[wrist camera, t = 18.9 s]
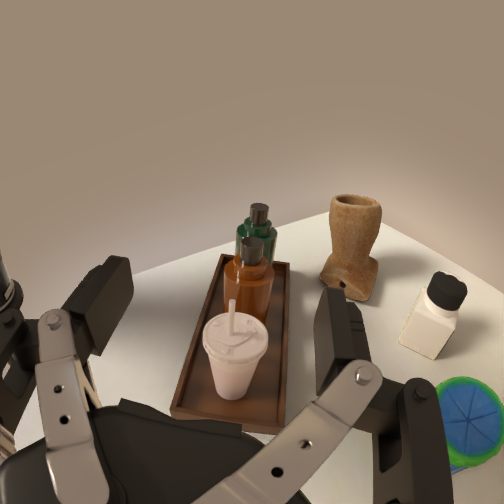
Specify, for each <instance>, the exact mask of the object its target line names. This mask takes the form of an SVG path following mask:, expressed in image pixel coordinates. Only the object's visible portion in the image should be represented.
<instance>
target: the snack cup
mask: <svg viewBox="0 0 504 504" xmlns="http://www.w3.org/2000/svg"><path fill="white" fill-rule="evenodd" d="M435 389H436V391H437V394H438V399H439V403H440V408H441V413H442V418H443V423H444V429H445V435H446V440H447V447H448V453H449V461H450V468H451V474H454V473H456V472H459V471H461V470H463V469H466V468H468V467H474V466H477V465H480V464H482V463H484V462H486V461H487V460H488V459H490V458H491V457H493V456H495V455H496V454H497V453H498V452H499V450H500V448H501V446H502V445H503V443H504V407H503V405H502V403H501V401H500V399H499V398H498V396H497V395H496V394H495V392H494V391H493V390H492V389H491V388H489V387H488V386H487V385H486V384H484V383H482V382H481V381H479V380H477V379H473V378H470V377H454V378H451V379H449V380H447V381H445V382H443V383H441V384H439V385H438V386H437V387H436V388H435Z"/></svg>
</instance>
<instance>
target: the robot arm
mask: <svg viewBox="0 0 504 504" xmlns="http://www.w3.org/2000/svg"><path fill="white" fill-rule="evenodd" d="M133 292H134V286H133V280H132V274H131V268H130V262H129V259H128V258H126V257H120V256H114V255H111V256H109V257H108V259H107V260H106V261H105V263H104V264H103V265H98V266H97V267H95V268H94V269H92V270H91V271H89V272H88V274H87V275H86V276H85V277H84V279H83V281H81V283H80V284H79V285H78V287H77V288H76V289H75V290H74V291H73V293H72V294H71V295H70V297H69V298H68V299H67V301H66V302H65V303H64V305H63V306H62V307H61V309H52V310H50V311H48V312H46V313H44V314H43V315H42V316H41V318H40V319H24V317H23V315H22V313H21V311H20V310H18V309H8V310H6V309H7V308H8V307H9V306H10V305H11V303H12V302H13V300H14V297H15V288H14V283H13V280H12V281H11V280H10V277H9V274H8V272H7V269H6V266H5V263H4V260H3V257H2V254H1V251H0V504H311V503H310V501H309V500H308V499H307V498H306V496H305V495H304V494H303V493H302V491H301V490H300V488H301V487H302V486H303V485H304V484H305V483H306V482H307V481H308V480H309V479H310V478H311V476H312V475H313V474H314V473H315V472H316V471H317V470H318V469H319V467H320V466H321V465H322V464H323V463H324V462H325V461H326V459H327V458H328V457H329V456H330V455H331V453H332V452H333V451H334V450H335V449H336V447H337V446H338V445H339V444H340V442H341V441H342V440H343V439H344V437H345V436H346V435H347V433H348V432H349V431H350V429H351V428H352V427H353V428H356V429H359V430H362V431H366V432H369V433H372V441H373V504H454V499H453V487H452V477H451V468H450V461H449V453H448V447H447V440H446V435H445V429H444V423H443V418H442V413H441V408H440V403H439V399H438V394H437V391H436V389H435V387H434V386H433V385H432V384H431V383H430V382H429V381H427V380H425V379H423V378H412V379H410V380H409V381H407V382H406V384H401V383H398V382H395V381H392V380H389V379H386V378H384V377H383V376H382V373H381V371H380V370H379V368H378V367H377V366H376V365H374V364H373V363H372V361H371V356H370V351H369V346H368V342H367V337H366V332H365V328H364V324H363V319H362V314H361V311H360V310H359V309H358V307H357V306H356V305H355V303H354V302H346V298H345V293H344V289H343V288H335V287H327V286H325V287H324V288H323V291H322V295H321V298H320V301H319V305H318V308H317V311H316V315H315V319H314V345H315V367H316V396H319V397H318V398H317V399H316V400H315V401H311V402H310V403H309V404H308V405H307V406H306V407H305V408H304V409H303V410H302V411H301V412H300V413H299V414H298V415H297V416H296V417H295V418H294V419H293V420H292V421H291V422H290V423H289V424H288V425H287V426H286V427H285V428H284V429H283V430H282V431H280V432H279V433H278V434H277V435H276V436H275V437H274V438H273V439H272V440H271V441H270V442H269V443H268V444H267V445H264V444H263V443H262V442H261V441H259V440H258V439H256V438H255V437H253V436H251V435H249V434H246V433H244V432H241V431H242V424H238V423H231V422H225V421H219V420H213V419H202V420H177V419H174V418H172V417H170V416H168V415H166V414H164V413H162V412H160V411H158V410H156V409H154V408H152V407H150V406H148V405H144V404H141V403H137V402H134V401H130V400H127V399H123V398H121V400H120V402H119V405H115V406H105V407H102V405H101V403H100V400H99V397H98V394H97V391H96V387H95V383H94V380H93V376H92V372H91V368H90V364H89V361H88V357H89V356H90V354H94V355H97V356H101V354H102V352H103V350H104V348H105V347H106V345H107V343H108V341H109V339H110V337H111V336H112V334H113V332H114V330H115V328H116V326H117V325H118V323H119V321H120V319H121V318H122V316H123V314H124V312H125V311H126V309H127V307H128V305H129V304H130V302H131V300H132V297H133ZM5 310H6V311H5ZM3 311H4V312H3ZM11 356H13V358H14V359H15V360H14V362H13V363H12V365H11V367H10V369H9V371H8V372H7V374H6V376H5V378H4V380H3V378H2V372H3V369H4V367H5V366H6V364H7V362H8V361H9V359H10V357H11ZM36 385H37V393H38V400H39V407H40V413H41V419H42V425H43V430H44V435H45V437H44V438H42V439H40V440H38V441H36V442H35V443H33V444H31V445H29V446H27V447H25V448H23V449H21V450H20V451H18V452H17V451H16V448H15V447H14V446H15V442H14V438H13V436H14V433H15V431H16V428H17V426H18V424H19V421H20V419H21V417H22V415H23V412H24V410H25V408H26V406H27V404H28V402H29V399H30V397H31V395H32V393H33V391H34V389H35V387H36Z"/></svg>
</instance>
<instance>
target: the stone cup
mask: <svg viewBox="0 0 504 504" xmlns="http://www.w3.org/2000/svg"><path fill="white" fill-rule="evenodd" d="M381 216H382V209H381V206H380V204H379V203H378V202H377V201H376V200H374V199H371V198H368V197H361V196H358V195H349V194H345V195H337V196H335V197H334V198H333V199H332V200H331V205H330V213H329V224H330V230H331V238H332V248H333V252H332V254H331V255H330V256H329V258H328V260H327V262H326V264H325V266H324V268H323V270H322V272H321V273H320V278H321V280H323V281H324V282H325V283H326V284H327V285H328V286H329V287H335V288H343V289H344V293H345V297H348V298H350V299H354V300H360V301H365V300H367V299H368V298H369V296H370V293H371V291H372V288H373V285H374V282H375V279H376V275H377V271H378V262H377V261H376V260H375V259H374V258H372V257H370V256H369V254H370V251H371V248H372V246H373V244H374V242H375V240H376V238H377V236H378V233H379V228H380V223H381Z"/></svg>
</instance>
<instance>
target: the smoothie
mask: <svg viewBox="0 0 504 504" xmlns="http://www.w3.org/2000/svg"><path fill="white" fill-rule="evenodd" d="M235 303H236V301H235V300H234V299H230V300H229V313H223V314H220V315H217V316H215V317H214V318H212V319H211V320H210V321H209V322H208V323H207V324H206V325H205V327H204V330H203V346H204V348H205V350H206V352H207V353H208V356H209V360H210V365H211V369H212V374H213V378H214V382H215V387H216V391H217V393H218V394H219V395H220V396H221V397H222V398H224V399H227V400H237V399H240V398H242V397H243V396H244V395H245V394H246V392H247V389H248V387H249V384H250V382H251V379H252V377H253V374H254V372H255V369H256V367H257V364H258V362H259V360H260V358H261V357H262V356H263V355H264V354H265V352H266V350H267V347H268V332H267V329H266V328H265V326H264V325H263V324H262V323H261V322H260V321H259V320H258V319H256V318H255V317H253V316H251V315H248V314H245V313H239V312H235Z"/></svg>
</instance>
